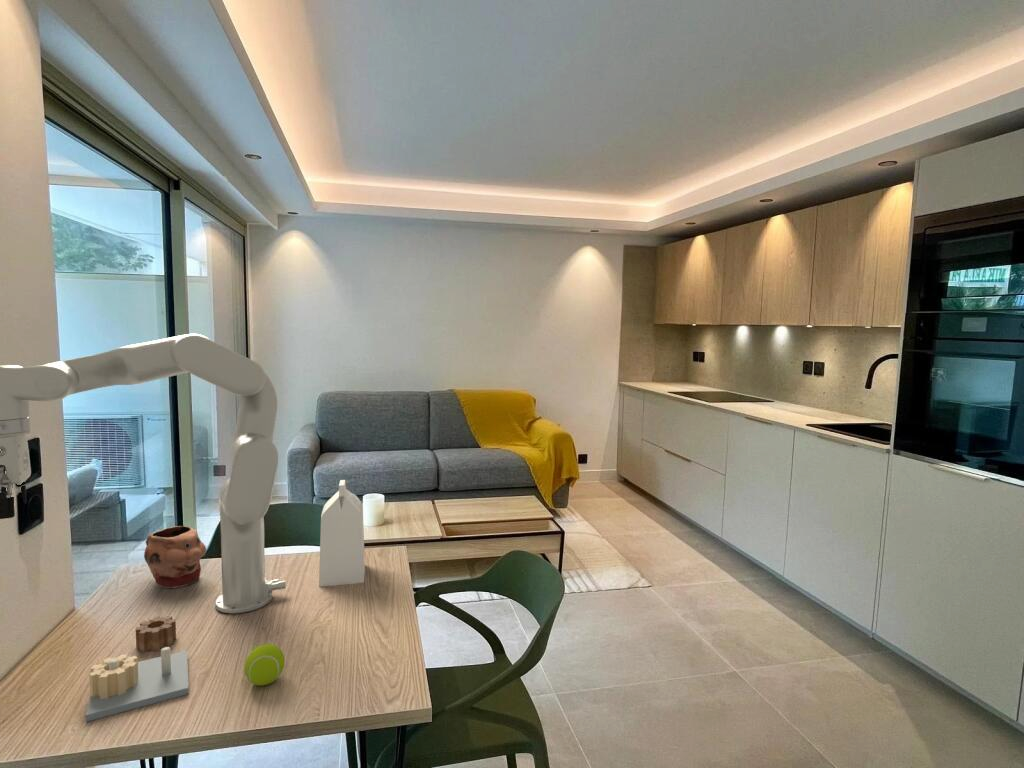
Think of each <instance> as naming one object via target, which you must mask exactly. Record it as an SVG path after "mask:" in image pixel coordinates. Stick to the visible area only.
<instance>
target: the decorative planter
mask: <svg viewBox="0 0 1024 768" xmlns="http://www.w3.org/2000/svg"><path fill="white" fill-rule="evenodd" d="M198 534H199V533H198V531H197V530H196V529H194V528H192V527H190V526H186V525H185V526H183V525H179V526H171V527H167V528H163V529H161V530H156V531H154V532H153V533H150V534H148V536H147V537H146V540H145V544H146V547H145V549H144V553H143V558H144V560H145V562H146V564H147V566H148V568H149V570H150V572H151V574H152V577H153V579H154V580H155V583H156V585H157V586H159V587H161V588H166V589H175V588H180V587H185V586H187V585H188V586H189V585H190V584H193V583H194V582H196V581H197V580H199V579H200V575H201V570H202V569H201V562H200V561H201V558H203V557H204V556H205V555H206V553H207V547H206V545H205V543H204V542H203V541H202V540H201V539H200V537H199V535H198Z"/></svg>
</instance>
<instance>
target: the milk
mask: <svg viewBox="0 0 1024 768" xmlns="http://www.w3.org/2000/svg"><path fill="white" fill-rule="evenodd" d="M346 485H347V484H346V479H340V480H339V484H338V491H337V492H335V494H334V495H332V497H330V498H329V499H328V500H327V502H326V503H325V504H324V505H323V507H322V512H321V514H320V515H321V516H320V517H321V518H320V539H319V540H320V541H319V542H320V543H319V566H318V567H319V571H318V572H319V574H318V587H328V586H341V585H351V584H352V585H355V584H364V583H365V571H366V569H365V567H366V561H365V559H366V558H365V556H366V555H365V536H364V535H365V534H364V533H365V532H364V529H365V528H364V508H363V502H362V501H361V500H360V498H359V497H358V496H357V494H355V493H353V492H351V491H350V490H349V489H348V488H347V486H346Z"/></svg>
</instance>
